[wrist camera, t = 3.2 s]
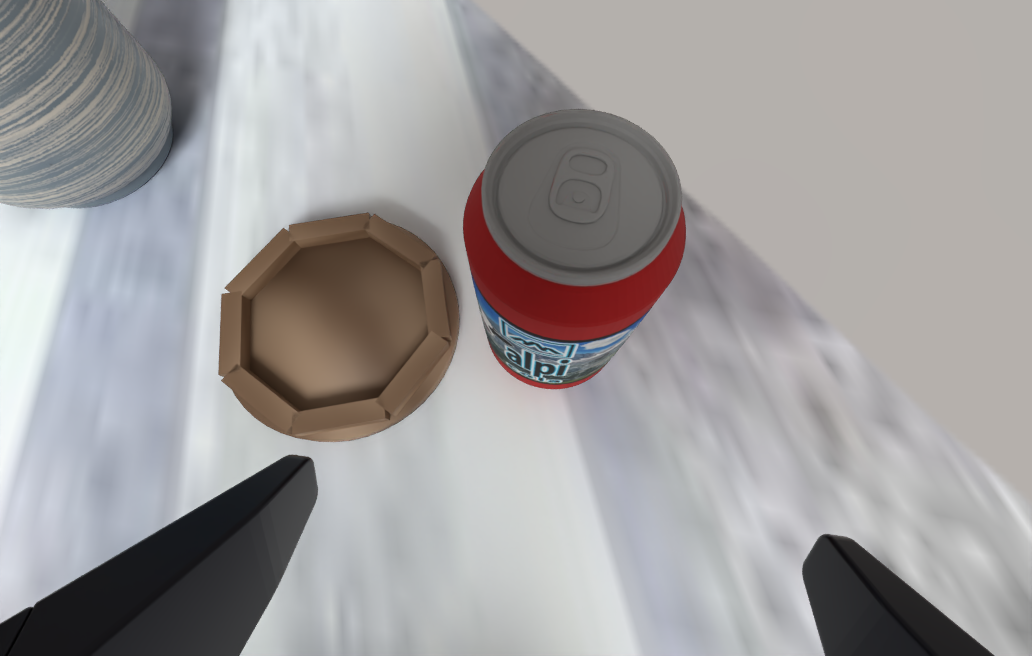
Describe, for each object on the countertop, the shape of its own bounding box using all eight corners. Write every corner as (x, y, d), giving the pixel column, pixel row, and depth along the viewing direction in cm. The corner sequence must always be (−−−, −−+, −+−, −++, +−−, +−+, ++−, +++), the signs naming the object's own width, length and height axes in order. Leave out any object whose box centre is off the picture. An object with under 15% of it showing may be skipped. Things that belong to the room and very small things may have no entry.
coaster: (355, 494, 21) (342, 495, 19) (181, 352, 23) (157, 343, 21) (504, 298, 24) (503, 286, 22) (338, 190, 26) (326, 172, 24)
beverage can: (469, 372, 22) (417, 267, 11) (507, 257, 24) (496, 68, 13) (599, 409, 22) (688, 337, 10) (627, 288, 24) (725, 117, 12)
